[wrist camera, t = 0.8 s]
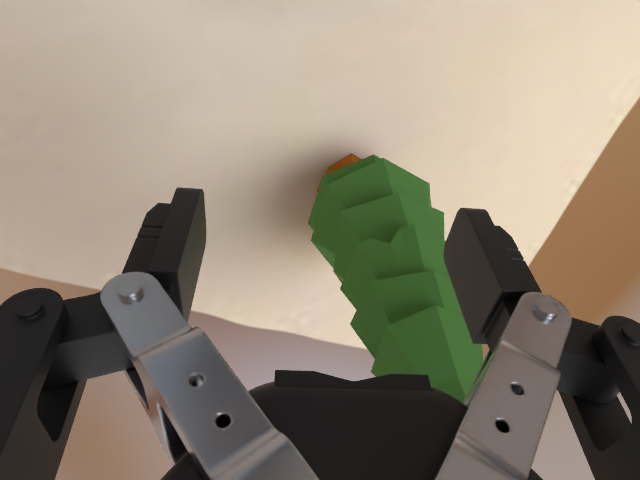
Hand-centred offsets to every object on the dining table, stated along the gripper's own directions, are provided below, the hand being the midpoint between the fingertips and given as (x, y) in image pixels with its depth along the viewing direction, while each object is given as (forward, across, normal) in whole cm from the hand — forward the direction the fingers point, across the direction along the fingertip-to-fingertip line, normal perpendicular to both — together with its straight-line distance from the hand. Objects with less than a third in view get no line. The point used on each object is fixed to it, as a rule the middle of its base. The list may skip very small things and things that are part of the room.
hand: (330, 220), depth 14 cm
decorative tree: (+22, -5, +14) cm, 27 cm away
